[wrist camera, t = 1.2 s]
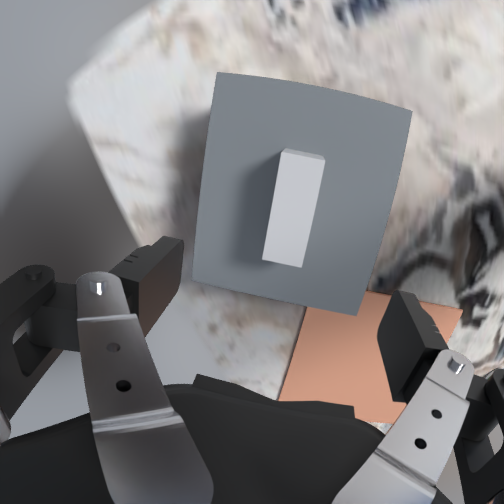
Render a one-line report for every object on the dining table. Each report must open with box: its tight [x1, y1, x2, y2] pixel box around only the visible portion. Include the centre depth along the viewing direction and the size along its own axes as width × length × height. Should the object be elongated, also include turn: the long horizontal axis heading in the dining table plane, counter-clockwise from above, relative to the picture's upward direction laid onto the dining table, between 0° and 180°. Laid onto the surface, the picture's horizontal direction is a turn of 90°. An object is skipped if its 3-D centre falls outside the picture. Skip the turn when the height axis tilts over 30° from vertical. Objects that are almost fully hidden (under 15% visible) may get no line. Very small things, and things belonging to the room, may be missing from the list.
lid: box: [191, 72, 412, 316], centre depth 25 cm, size 16×19×6 cm
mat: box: [278, 290, 463, 424], centre depth 39 cm, size 20×22×1 cm
